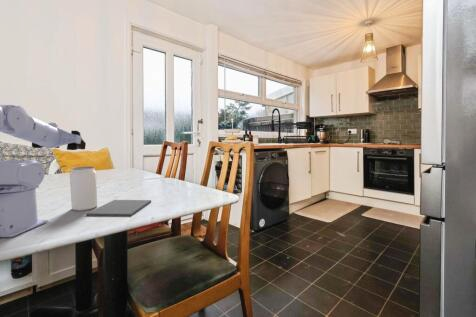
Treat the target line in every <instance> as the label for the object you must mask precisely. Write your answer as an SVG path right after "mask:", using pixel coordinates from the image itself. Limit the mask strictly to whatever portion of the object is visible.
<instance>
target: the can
mask: <svg viewBox="0 0 476 317" xmlns="http://www.w3.org/2000/svg"><path fill="white" fill-rule="evenodd" d="M97 182H98V180H97V171H96V170H95V166H75V167H71V171H70V173H69V186H70V200H71V209H72V210H73V211H75V212H76V211H77V212H83V211H89V210H94V209H97V208H98V207H97V206H98V205H99V204H98V200H99V199H98V186H97V185H98V183H97Z"/></svg>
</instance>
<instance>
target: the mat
mask: <svg viewBox="0 0 476 317" xmlns="http://www.w3.org/2000/svg"><path fill="white" fill-rule="evenodd" d="M150 203H152V200H151V199H113V200H111V201H109V202H107V203H106V204H103V205H100V206H98V207H96V208H93V209H91V211H88V212H86V216H87V217H88V216H89V217H90V216H91V217H92V216H94V217H97V216H98V217H100V216H101V217H103V216H104V217H132V216H134V215H135V214H136V213H137V212H139V211H141V210H142V209H144V208H145V207H147V205H149V204H150Z"/></svg>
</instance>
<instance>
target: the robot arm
mask: <svg viewBox="0 0 476 317" xmlns="http://www.w3.org/2000/svg"><path fill="white" fill-rule="evenodd" d="M0 132H1V133H4V134H6V135H9V136H12V137H14V138H18V139H21V140H23V141H27V142H29V143H31V147H32V148H33V149H42V148H43V149H44V148H46V149H53V148H55V149H59V148H60V147H63V146H66V150H67V151H77V150H86V144H87V143H86V141H85V140H84V139H83V137H82V136H81V132H80V131H78V130H71V132H69V131H66V130H64V129H62V128H59V126H58V123H56V122H49V123H46V122H44V121H42V120H40V119H37V118H36V117H32V116H31V115H29V114H28V113H27V111H26V109H24V107H23V106H21V105H18V106H17V105H13V104H0ZM44 178H45V169H44V166H43V164H42V163H41V162H40V161H38V160H37V159H28V160H0V238H12V237H16V236H17V235H20V234H22V233H25V232H27V231H29V230H31V229H34V228H36V227H39V226H41V225H44V224H46V223H48V219H38V207H37V206H38V205H37V188H40V185H41V183H42V182H43V180H44Z"/></svg>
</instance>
